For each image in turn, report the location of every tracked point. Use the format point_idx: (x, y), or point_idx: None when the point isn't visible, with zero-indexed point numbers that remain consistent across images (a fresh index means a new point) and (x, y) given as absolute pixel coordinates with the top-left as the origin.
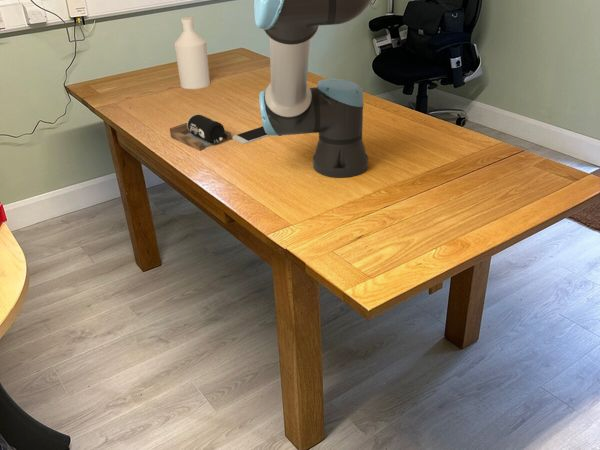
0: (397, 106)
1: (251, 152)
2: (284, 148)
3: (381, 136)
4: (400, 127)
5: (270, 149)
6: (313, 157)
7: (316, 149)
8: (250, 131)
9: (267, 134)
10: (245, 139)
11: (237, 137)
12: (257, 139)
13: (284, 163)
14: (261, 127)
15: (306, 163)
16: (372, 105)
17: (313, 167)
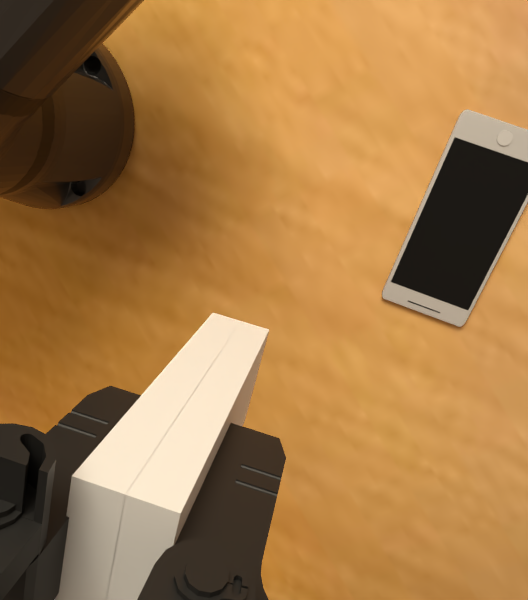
0: None
1: (386, 53)
2: (289, 152)
3: (74, 374)
4: None
5: (332, 118)
6: (102, 62)
7: (87, 77)
8: (499, 226)
9: (414, 229)
10: (475, 143)
11: (521, 145)
12: (432, 177)
13: (216, 32)
14: (476, 281)
15: (150, 75)
16: None
17: (105, 47)
